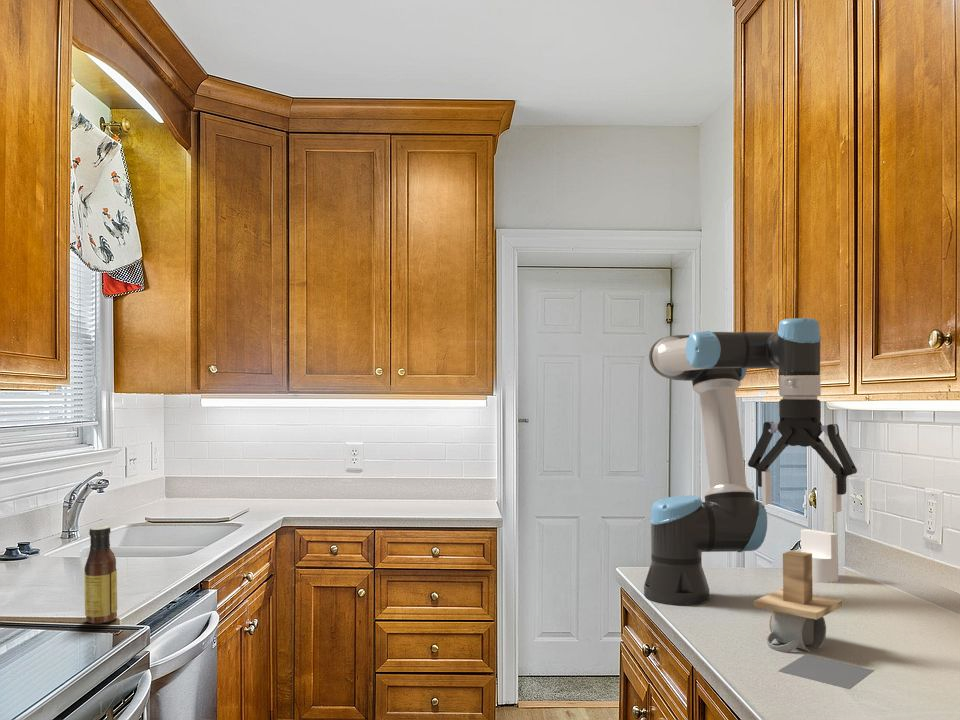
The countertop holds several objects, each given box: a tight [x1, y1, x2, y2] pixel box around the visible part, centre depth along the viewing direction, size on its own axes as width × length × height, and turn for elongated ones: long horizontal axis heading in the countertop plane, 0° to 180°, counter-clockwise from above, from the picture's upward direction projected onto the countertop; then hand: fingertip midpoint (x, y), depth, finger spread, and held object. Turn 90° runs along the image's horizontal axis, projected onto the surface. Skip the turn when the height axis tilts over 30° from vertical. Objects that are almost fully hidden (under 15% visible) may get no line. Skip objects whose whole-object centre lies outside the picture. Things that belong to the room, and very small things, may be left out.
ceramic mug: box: [766, 611, 827, 653], centre depth 155 cm, size 11×8×8 cm
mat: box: [777, 654, 875, 690], centre depth 141 cm, size 12×12×1 cm
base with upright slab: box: [800, 528, 839, 584], centre depth 210 cm, size 9×9×12 cm
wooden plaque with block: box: [753, 550, 843, 620], centre depth 156 cm, size 12×12×10 cm
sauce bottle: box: [83, 525, 118, 625], centre depth 172 cm, size 6×6×20 cm
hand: (800, 508), depth 157 cm, fingers open, 13 cm apart
